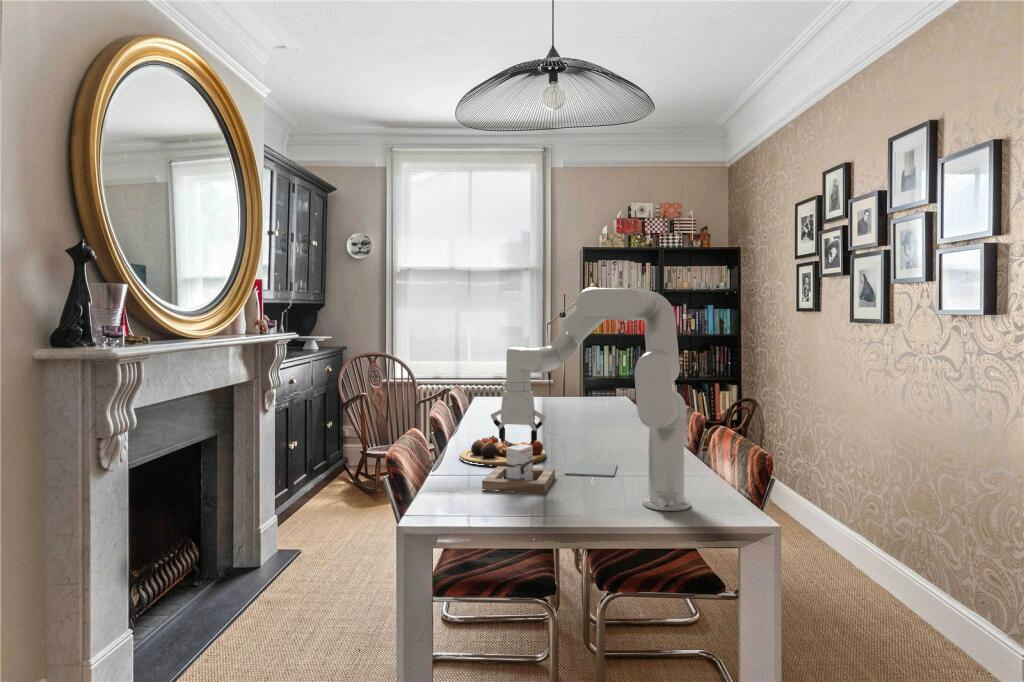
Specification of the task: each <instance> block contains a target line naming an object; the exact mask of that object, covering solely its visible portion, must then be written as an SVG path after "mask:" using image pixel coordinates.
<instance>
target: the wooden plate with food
mask: <svg viewBox="0 0 1024 682" xmlns="http://www.w3.org/2000/svg"><path fill="white" fill-rule="evenodd" d="M518 444H525V445H531V446H533V464H536V463H539V462H541V461H543V460H545V459H546V457H547V452H546V450H544V446H543V444H542V442H541V441H540V440H537V441H535V443H534V444H532V443H531V441H530V442H527V441H523V442H519V443H515V442H509V441H508V440H506V439H505V441H503V442H501V441H499V438H498V437H496V436H495V435H493V434H492V436H489V437H484V438H483V437H482V439H477V440H475V441H474V442H473V443H472V445H471V448H470V449H469V448H468V449H467V450H464V451H461V453H460V454H459V458H460V457H461V458H462V459H463V460H465V461H468V462H472V463H478V464H484V465H492V466H505V467H506V466H507V464H506V449H507V448H508V447H511V446H515V445H518ZM470 452H471V453H470ZM468 453H470V457H469V456H468ZM535 462H536V463H535Z"/></svg>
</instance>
